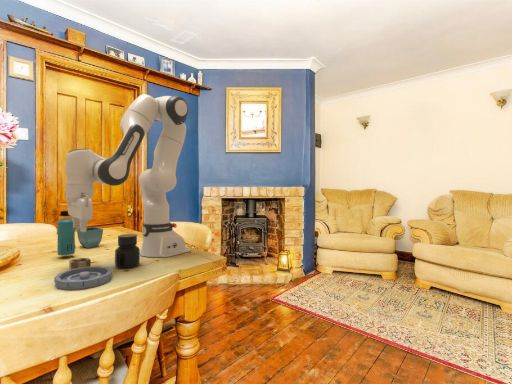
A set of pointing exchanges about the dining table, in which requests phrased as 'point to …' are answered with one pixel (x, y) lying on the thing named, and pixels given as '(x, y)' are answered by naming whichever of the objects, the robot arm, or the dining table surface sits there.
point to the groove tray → (82, 283)
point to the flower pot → (90, 237)
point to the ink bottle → (127, 252)
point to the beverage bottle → (66, 235)
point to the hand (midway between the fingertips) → (79, 229)
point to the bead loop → (79, 263)
